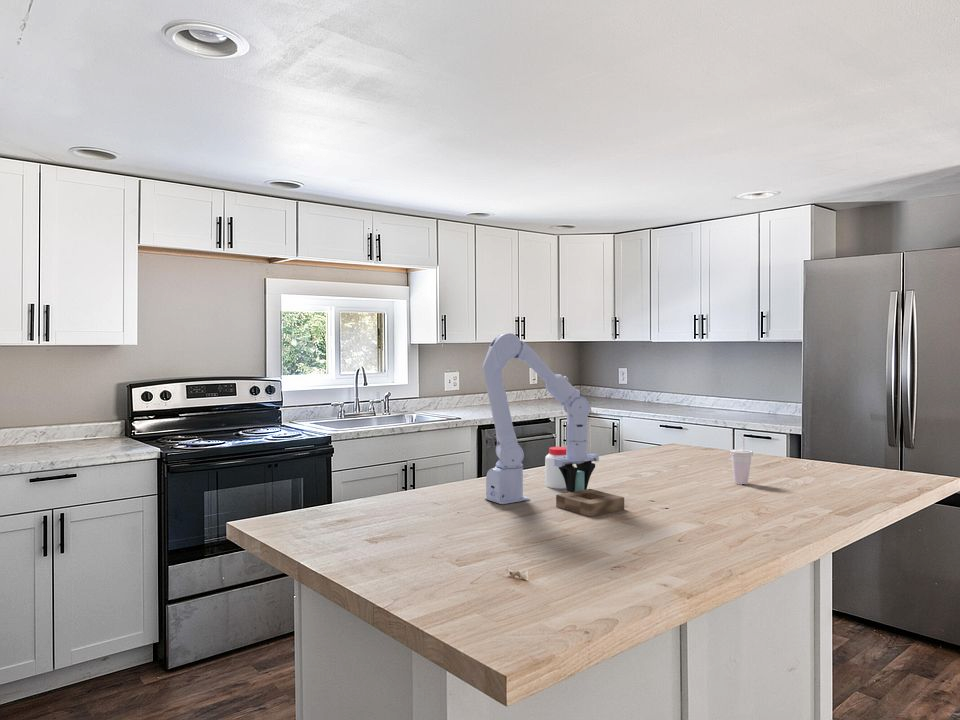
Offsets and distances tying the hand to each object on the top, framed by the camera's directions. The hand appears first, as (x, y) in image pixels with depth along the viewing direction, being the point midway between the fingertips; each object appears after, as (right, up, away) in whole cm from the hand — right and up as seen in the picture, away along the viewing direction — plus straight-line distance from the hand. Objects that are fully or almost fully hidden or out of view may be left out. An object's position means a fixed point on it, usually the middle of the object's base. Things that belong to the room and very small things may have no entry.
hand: (576, 490), depth 180 cm
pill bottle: (-3, -2, +15) cm, 15 cm away
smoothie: (+51, -2, +18) cm, 54 cm away
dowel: (0, -2, 0) cm, 2 cm away
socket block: (+2, -2, -11) cm, 11 cm away
